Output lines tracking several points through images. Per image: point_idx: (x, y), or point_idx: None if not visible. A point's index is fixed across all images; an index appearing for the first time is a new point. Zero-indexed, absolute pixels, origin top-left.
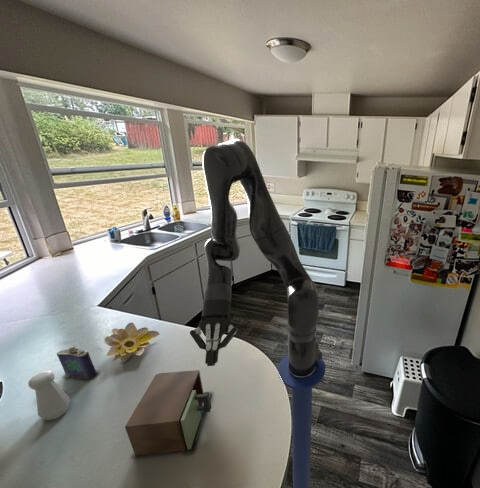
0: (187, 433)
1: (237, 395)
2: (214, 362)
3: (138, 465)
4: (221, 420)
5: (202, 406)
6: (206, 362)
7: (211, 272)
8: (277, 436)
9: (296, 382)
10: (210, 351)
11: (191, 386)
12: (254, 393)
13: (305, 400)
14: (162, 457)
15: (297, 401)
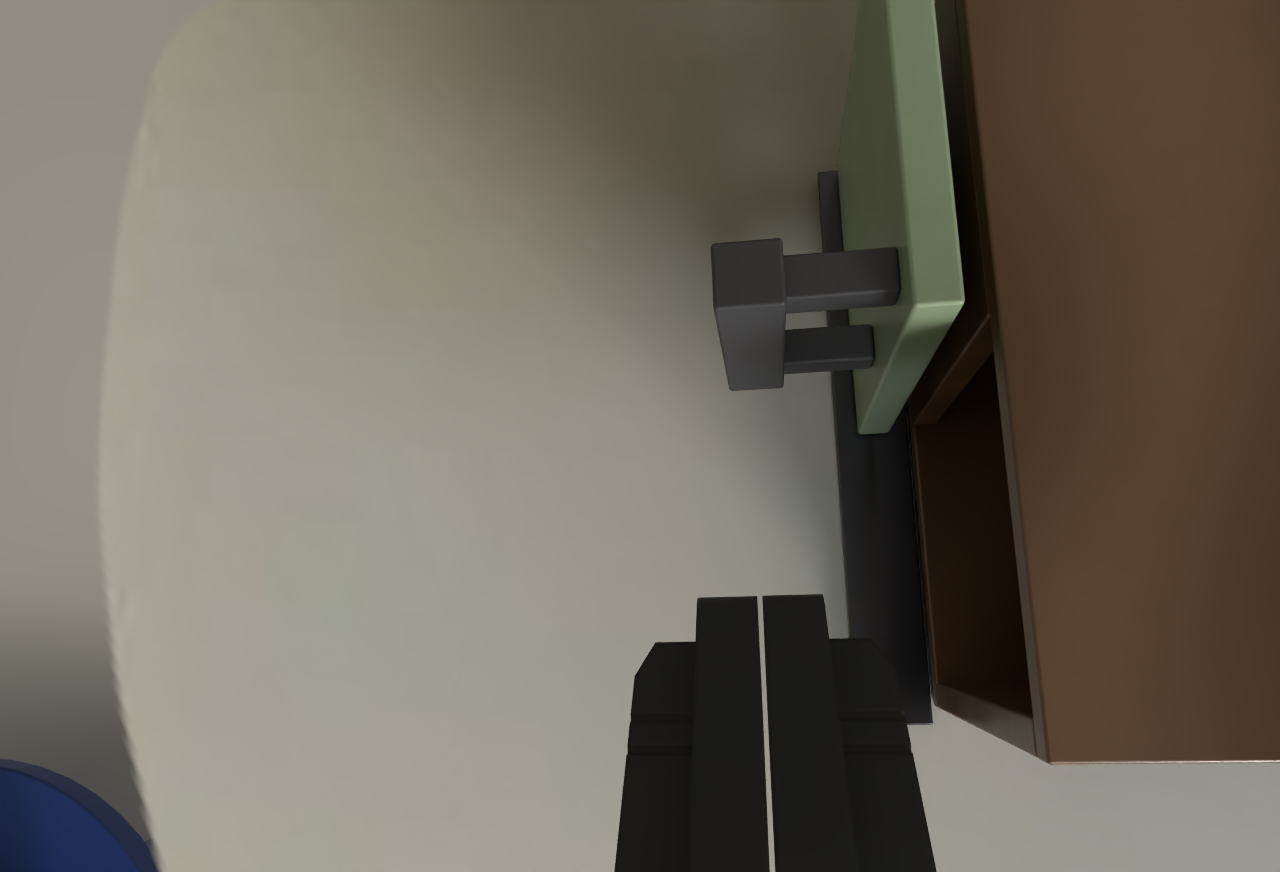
0: (853, 47)
1: (558, 678)
2: (673, 651)
3: None
4: (657, 415)
5: (817, 351)
6: (859, 658)
7: None
8: (172, 263)
9: (11, 833)
10: (794, 859)
11: (1028, 415)
12: (384, 686)
13: None
14: None
15: None
